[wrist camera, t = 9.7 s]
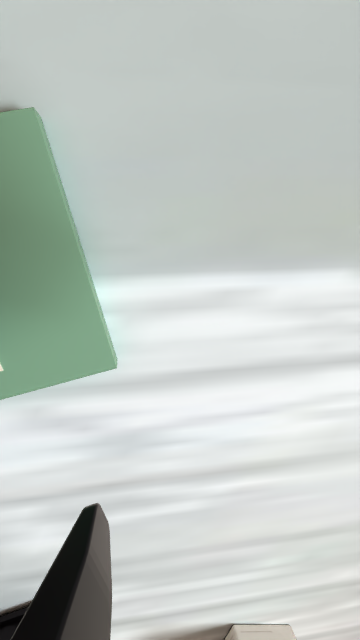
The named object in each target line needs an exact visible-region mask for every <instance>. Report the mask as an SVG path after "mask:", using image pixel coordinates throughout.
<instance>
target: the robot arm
mask: <svg viewBox="0 0 360 640" xmlns="http://www.w3.org/2000/svg"><path fill="white" fill-rule="evenodd" d="M111 612H112V579H111V555H110V531H109V524H108V521H107V519H106V516H105V514H104V512H103V510H102V508H101V506H100V504H98V503H95V504H92V505H89V506H87V507H85V508H84V509H83V510H82V512H81V514H80V515H79V517H78V519H77V521H76V523H75V524H74V526H73V528H72V530H71V532H70V533H69V535H68V537H67V539H66V541H65V542H64V544H63V546H62V548H61V550H60V551H59V553H58V555H57V557H56V559H55V561H54V562H53V564H52V566H51V568H50V570H49V571H48V573H47V575H46V577H45V579H44V580H43V582H42V584H41V586H40V588H39V589H38V591H37V593H36V595H35V597H34V598H33V600H32V602H31V604H30V606H29V607H27V608H24V609H21V610H18V611H15V612H13V613H10V614H7V615H4V616H1V617H0V640H110V633H111Z"/></svg>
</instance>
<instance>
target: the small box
mask: <svg viewBox="0 0 360 640" xmlns="http://www.w3.org/2000/svg"><path fill="white" fill-rule="evenodd" d="M225 640H297V639H296V637H295V635H294V633H293V630H292V628H291V626H290V625H233V627H232V628H231V630H230V632H229V633H228V635H227V636H226V638H225Z"/></svg>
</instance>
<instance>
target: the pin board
mask: <svg viewBox="0 0 360 640" xmlns="http://www.w3.org/2000/svg"><path fill="white" fill-rule="evenodd" d="M115 368H117V357H116V354H115V351H114V348H113V345H112V341H111V338H110V335H109V332H108V329H107V326H106V322H105V319H104V316H103V313H102V310H101V306H100V303H99V300H98V297H97V294H96V291H95V287H94V284H93V281H92V278H91V275H90V272H89V268H88V265H87V262H86V259H85V256H84V253H83V249H82V246H81V243H80V240H79V237H78V234H77V230H76V227H75V224H74V221H73V218H72V215H71V211H70V208H69V205H68V202H67V199H66V195H65V192H64V189H63V186H62V183H61V180H60V176H59V173H58V170H57V167H56V164H55V161H54V157H53V154H52V151H51V148H50V145H49V142H48V138H47V135H46V132H45V129H44V126H43V123H42V119H41V117H40V116H39V114H38V113H37V111H36V110H35V109H34V107H31V108H25V109H19V110H13V111H7V112H0V400H2V399H5V398H9V397H13V396H16V395H20V394H24V393H27V392H31V391H35V390H38V389H42V388H46V387H49V386H53V385H57V384H60V383H64V382H68V381H71V380H75V379H79V378H82V377H86V376H90V375H93V374H97V373H101V372H104V371H108V370H112V369H115Z"/></svg>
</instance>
